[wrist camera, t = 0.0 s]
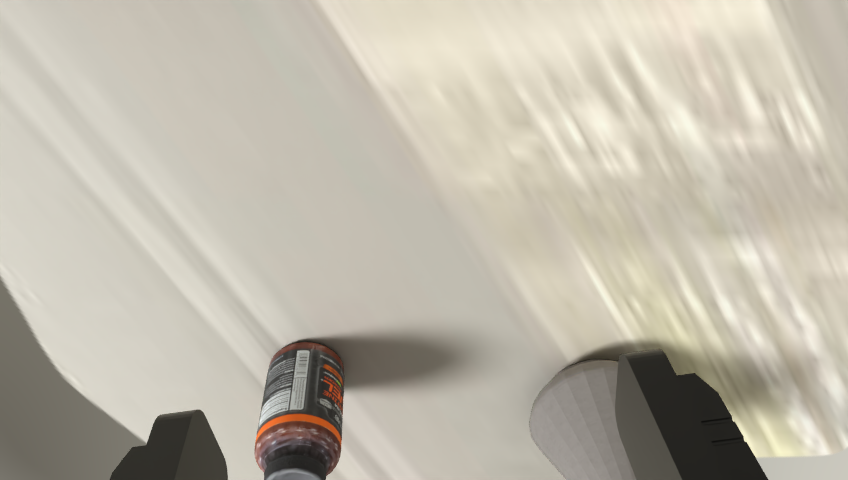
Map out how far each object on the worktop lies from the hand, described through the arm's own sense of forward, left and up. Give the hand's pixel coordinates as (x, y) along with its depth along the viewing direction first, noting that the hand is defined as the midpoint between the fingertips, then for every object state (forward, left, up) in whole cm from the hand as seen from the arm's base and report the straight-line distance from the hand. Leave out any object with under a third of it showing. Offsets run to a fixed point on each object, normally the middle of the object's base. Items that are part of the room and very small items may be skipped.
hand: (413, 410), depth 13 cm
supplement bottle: (+27, -10, -30) cm, 41 cm away
